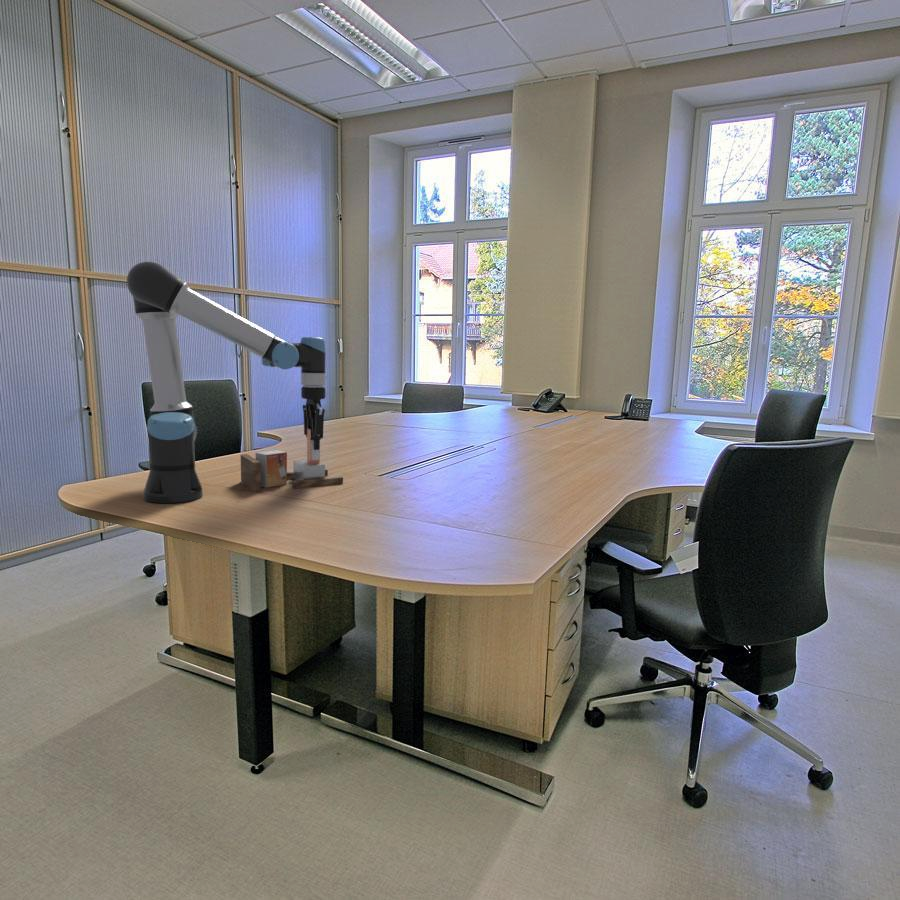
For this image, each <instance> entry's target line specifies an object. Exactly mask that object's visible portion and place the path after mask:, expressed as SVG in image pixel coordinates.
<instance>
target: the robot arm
mask: <svg viewBox="0 0 900 900" xmlns="http://www.w3.org/2000/svg"><path fill="white" fill-rule="evenodd" d="M126 285H127V289H128V291H129V293H130V295H131V296H132V299H133V305H134V311H135V316H137V317H138V318H139V319H141V321H142V325H143V331H144V332H143V333H144V340H145V345H146V346H145V347H146V351H147V360H148V366H149V373H150V380H151V387H152V393H153V400H154V404H153V406H152V407H151V408H150V409H149V411H150V413H149V414H150V416H149V417H148V419H147V425H146V430H147V435H148V439H147V440H148V461H149V462H148V463H149V473H148V477H147V480H146V482H145V486H144V490H143V499H144V501H146V502H148V501H149V503H153V502H155V503H154V504H178V503H180V504H181V503H186V502H192V501H195V500H198V499H201V498H202V497H203V486H202V484H201V481H200V479H199V476H198V472H197V471H196V455H195V441H196V439H197V436H198V427H197V424H196V421H195V416H194V415H195V414H194V407H193V405H192V404H191V403H190V402H189V401H187V397H186V389H185V381H184V374H183V373H184V372H183V367H182V358H181V353H180V351H181V350H180V344H179V337H178V330H177V324H176V323H177V322H176V319H177V317H178V316H179V315H180V316H181V317H183V318H185V319H188V321H191V322H192V323H195V324H197V325H199V326H201V327H202V328H204V329H206V330H208V331H210V332H212V333H213V334H216V335H218V336H220V337H222V338H223V339H225V340H227V341H229V342H231V343H233V344H234V345H237V346H239V347H240V348H242V349H245V350H246V351H248V352H250V353H252V354H254V355H256V356H258V357H259V358H260V359H261V364H262V365H263V366H264V367H270V368H279V369H282V370H290V369H292V368H300V369H301V371H300V385H301V386H302V387H301V389H300V390H301V391H300V392H301V393H300V394H301V399H304V400H305V401H306V402H305V404H302V411H303V434H304V435H305V436H306V438H307V429H310V428H312V438H310V440H311V460H319V459H320V460H321V439H324V424H325V411H326V410H325V408H322V403H321V400H324V399H325V398H326V387H324V386H326V379H327V375H326V353H327V351H326V341H325V339H324V338H323V337H313V336H302V337H301V339H300V342H289V341H286V340H284V339H282V338H281V337H278V336H276V335H275V334H274V333H271V332H269V331H268V330H266V329H264V328H262V327H261V326H259V325H257V324H255V323H253V322H251V321H249V320H248V319H246V318H244V317H242V316H240V315H238V314H236V313H235V312H233V311H232V310H229V309H228V308H226V307H224V306H222V305H221V304H219V303H216V302H215V301H213V300H211V299H209V298H208V297H206V296H204V295H203V294H201V293H199V292H197V291H195V290H193V289H191V288H190V285H189V284H188V282H187V281H185V280H183V279H182V278H179V277H177V275H175V274H174V273H172V272H171V271H170V270H168V269H167V268H166V267H164V266H163V265H162V264H159V263H158V262H154V261H142V262H138V263H137V264H135V265H134V266H132V267H131V269H130V270H129V271H128V274H127V277H126Z"/></svg>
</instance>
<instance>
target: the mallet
mask: <svg viewBox="0 0 900 900" xmlns="http://www.w3.org/2000/svg"><path fill="white" fill-rule="evenodd" d="M310 438H312V428H310V429H307V437H306V458H307V459H300V460H299V459H298V460H293V466H292V467H293V469H292V472H293V479H292V480H294V481H298V480H309V479H320V478H326V476H325V469H326V464H325V463H322V462H320V461H321V458H320V459H319V460H311V440H310Z"/></svg>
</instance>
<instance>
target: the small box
mask: <svg viewBox="0 0 900 900" xmlns="http://www.w3.org/2000/svg"><path fill="white" fill-rule="evenodd" d="M287 454H288V453H287V452H286V451H282V450H277V449H275V450H267V451H261V452H260V451H259V452H255V459H256V460H258V461H259V462H260V474H261V488H265V489H267V488H272V487H279V486H286V485H287V484H288V479H287V472H288V455H287Z"/></svg>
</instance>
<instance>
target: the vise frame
mask: <svg viewBox="0 0 900 900" xmlns="http://www.w3.org/2000/svg"><path fill="white" fill-rule="evenodd" d="M328 471H329V470H328V469H327V468H325V478H320V479H309V480H298V481H296V480H294V479H293V471H287V480H293V481H292V487H293V488H294V489H299V488H302V489H303V488H309V487H311V488H312V487H320V486H321V487H322V486H332V485H342V484H344V477H343V476H335V477H334V476H333V477H332V476H331V477H328V476H329V474H328ZM240 483H241V484H242V485H244V486H246V487H247V488H248V489H249V490H251V491H252V492H253V493H259V492H262V491H261V488H262V487H261V474H260V462H259V461H258V460H256V458H254V457H253V456H251V455H250V454H247V453H245V454H243V453H242V454H240Z"/></svg>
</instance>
